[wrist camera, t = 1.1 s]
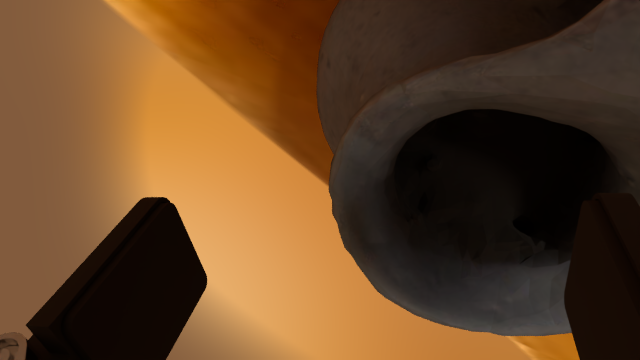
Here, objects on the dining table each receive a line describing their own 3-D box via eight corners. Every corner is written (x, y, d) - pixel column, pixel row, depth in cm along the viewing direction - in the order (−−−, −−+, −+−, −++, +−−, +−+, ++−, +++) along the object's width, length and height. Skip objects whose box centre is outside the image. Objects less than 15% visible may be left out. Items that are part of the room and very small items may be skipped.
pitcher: (312, 107, 41) (201, 317, 21) (406, -170, 29) (346, -290, 8) (509, 184, 42) (581, 464, 22) (692, -56, 29) (1291, 89, 9)
